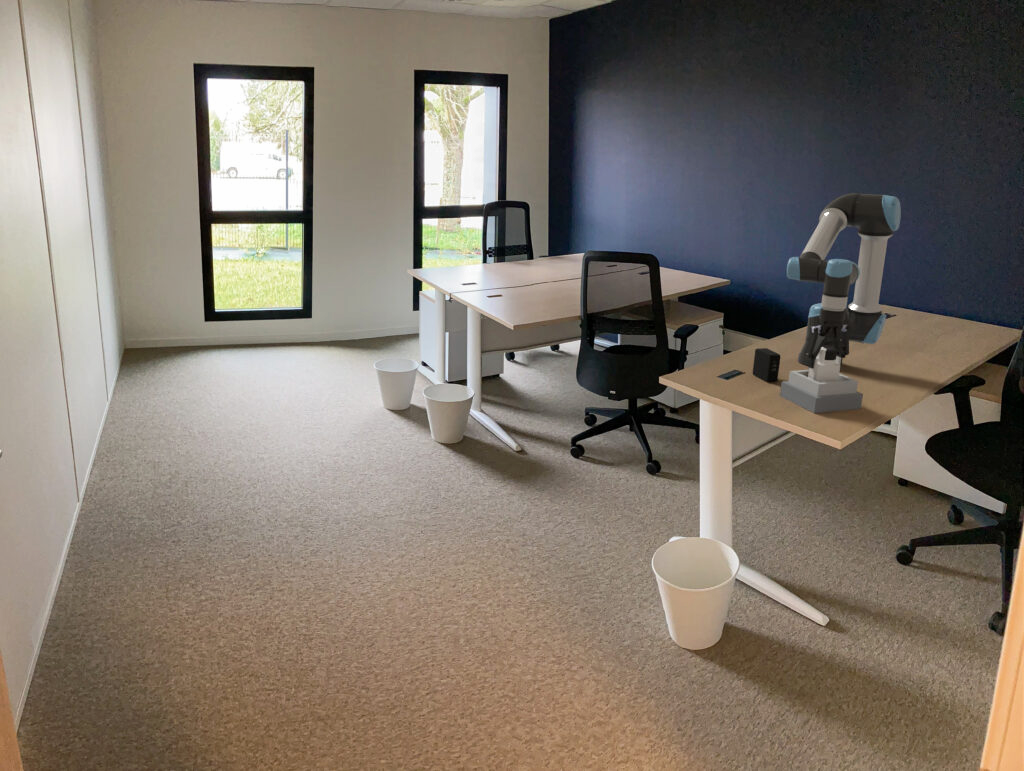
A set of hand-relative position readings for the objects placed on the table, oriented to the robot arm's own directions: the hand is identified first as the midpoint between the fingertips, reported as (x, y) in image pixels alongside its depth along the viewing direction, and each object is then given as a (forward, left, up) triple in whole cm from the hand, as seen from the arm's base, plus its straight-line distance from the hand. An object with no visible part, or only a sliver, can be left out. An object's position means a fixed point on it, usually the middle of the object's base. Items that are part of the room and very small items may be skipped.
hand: (823, 376), depth 272 cm
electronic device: (+2, -28, -9) cm, 29 cm away
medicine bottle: (0, 0, -2) cm, 2 cm away
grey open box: (0, 0, -9) cm, 9 cm away
